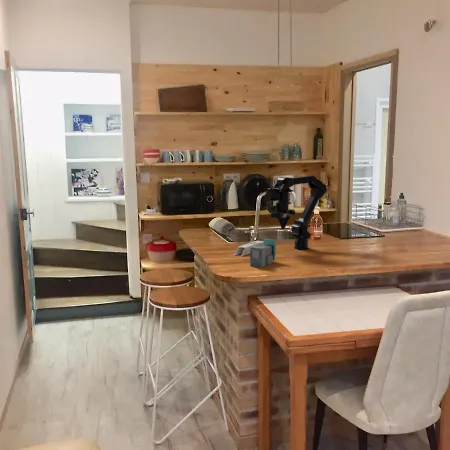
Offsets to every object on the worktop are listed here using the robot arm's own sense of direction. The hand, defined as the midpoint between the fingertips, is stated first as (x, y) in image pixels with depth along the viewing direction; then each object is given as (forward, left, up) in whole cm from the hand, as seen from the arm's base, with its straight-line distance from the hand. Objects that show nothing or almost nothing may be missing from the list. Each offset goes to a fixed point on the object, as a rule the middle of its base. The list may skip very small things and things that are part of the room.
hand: (282, 229), depth 270 cm
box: (+19, -4, -13) cm, 23 cm away
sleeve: (+21, +22, -12) cm, 33 cm away
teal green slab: (+22, +23, -11) cm, 34 cm away
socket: (+27, +26, -12) cm, 39 cm away
